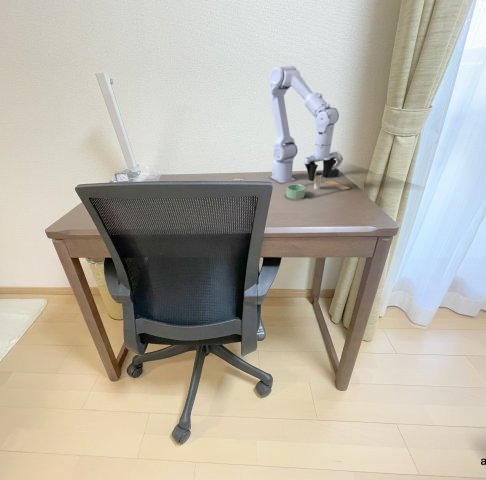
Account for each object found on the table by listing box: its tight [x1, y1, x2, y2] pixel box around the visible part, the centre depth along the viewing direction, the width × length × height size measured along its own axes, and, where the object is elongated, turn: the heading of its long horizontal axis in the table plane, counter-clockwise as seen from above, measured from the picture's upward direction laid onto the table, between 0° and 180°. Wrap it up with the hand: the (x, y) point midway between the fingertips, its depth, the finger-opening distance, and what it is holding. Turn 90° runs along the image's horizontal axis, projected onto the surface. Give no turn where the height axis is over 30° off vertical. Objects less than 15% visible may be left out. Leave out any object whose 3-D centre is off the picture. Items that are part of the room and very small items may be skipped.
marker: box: [313, 170, 323, 190], centre depth 105 cm, size 2×2×7 cm
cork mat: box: [323, 179, 351, 191], centre depth 107 cm, size 12×20×1 cm, turn 112°
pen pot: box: [285, 183, 307, 200], centre depth 101 cm, size 7×7×4 cm
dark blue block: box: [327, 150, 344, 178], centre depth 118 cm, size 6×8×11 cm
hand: (318, 178), depth 104 cm, fingers open, 6 cm apart
